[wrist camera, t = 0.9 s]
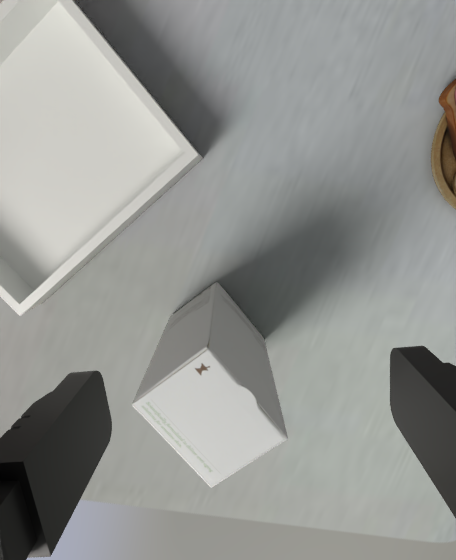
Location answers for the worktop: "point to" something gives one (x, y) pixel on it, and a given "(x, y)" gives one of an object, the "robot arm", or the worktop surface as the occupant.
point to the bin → (72, 147)
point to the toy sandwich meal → (446, 147)
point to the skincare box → (212, 388)
